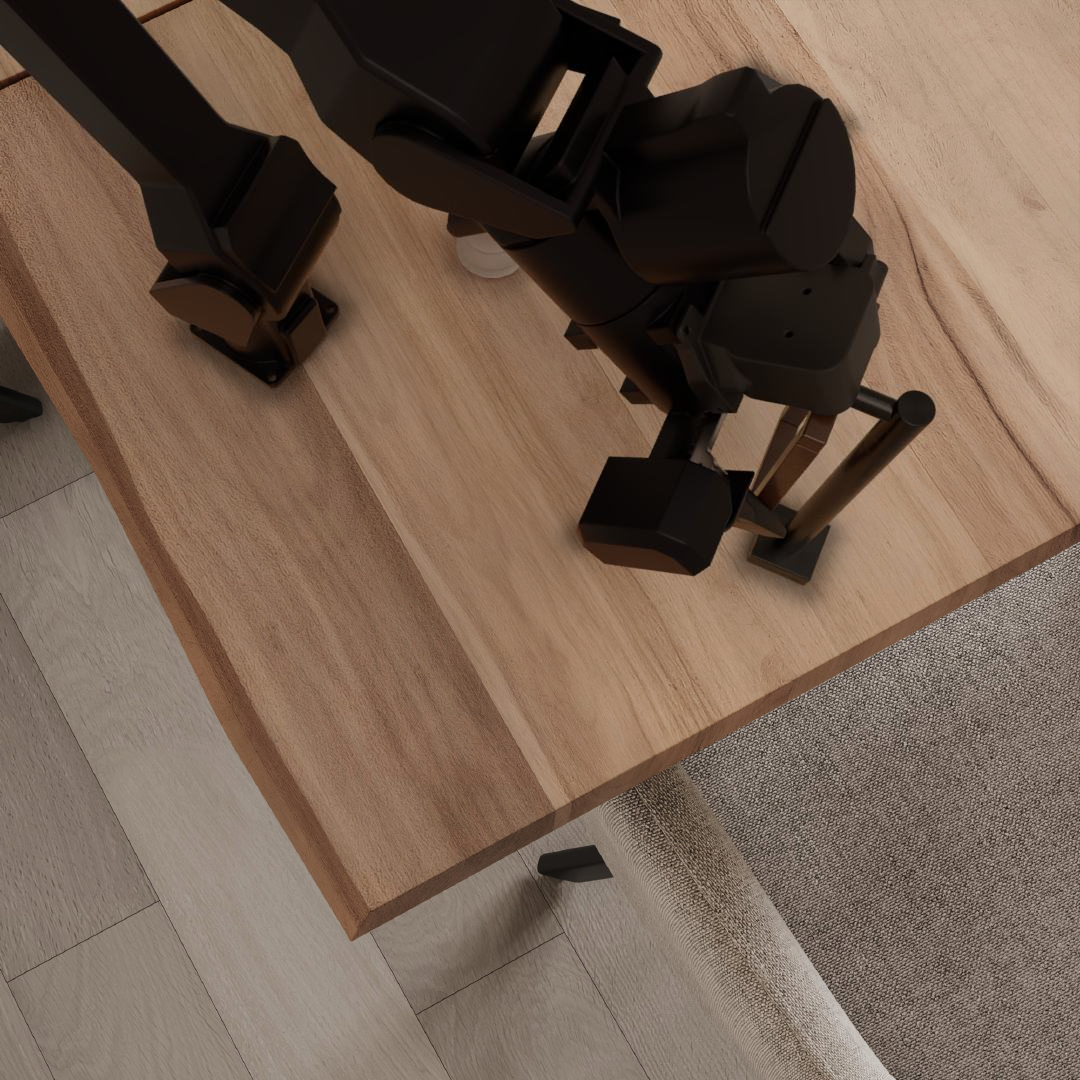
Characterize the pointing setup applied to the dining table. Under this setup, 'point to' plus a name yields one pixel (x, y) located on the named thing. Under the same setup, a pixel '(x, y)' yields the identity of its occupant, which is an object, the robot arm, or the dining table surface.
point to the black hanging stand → (843, 483)
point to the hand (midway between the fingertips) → (802, 471)
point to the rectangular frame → (790, 452)
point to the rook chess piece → (484, 256)
